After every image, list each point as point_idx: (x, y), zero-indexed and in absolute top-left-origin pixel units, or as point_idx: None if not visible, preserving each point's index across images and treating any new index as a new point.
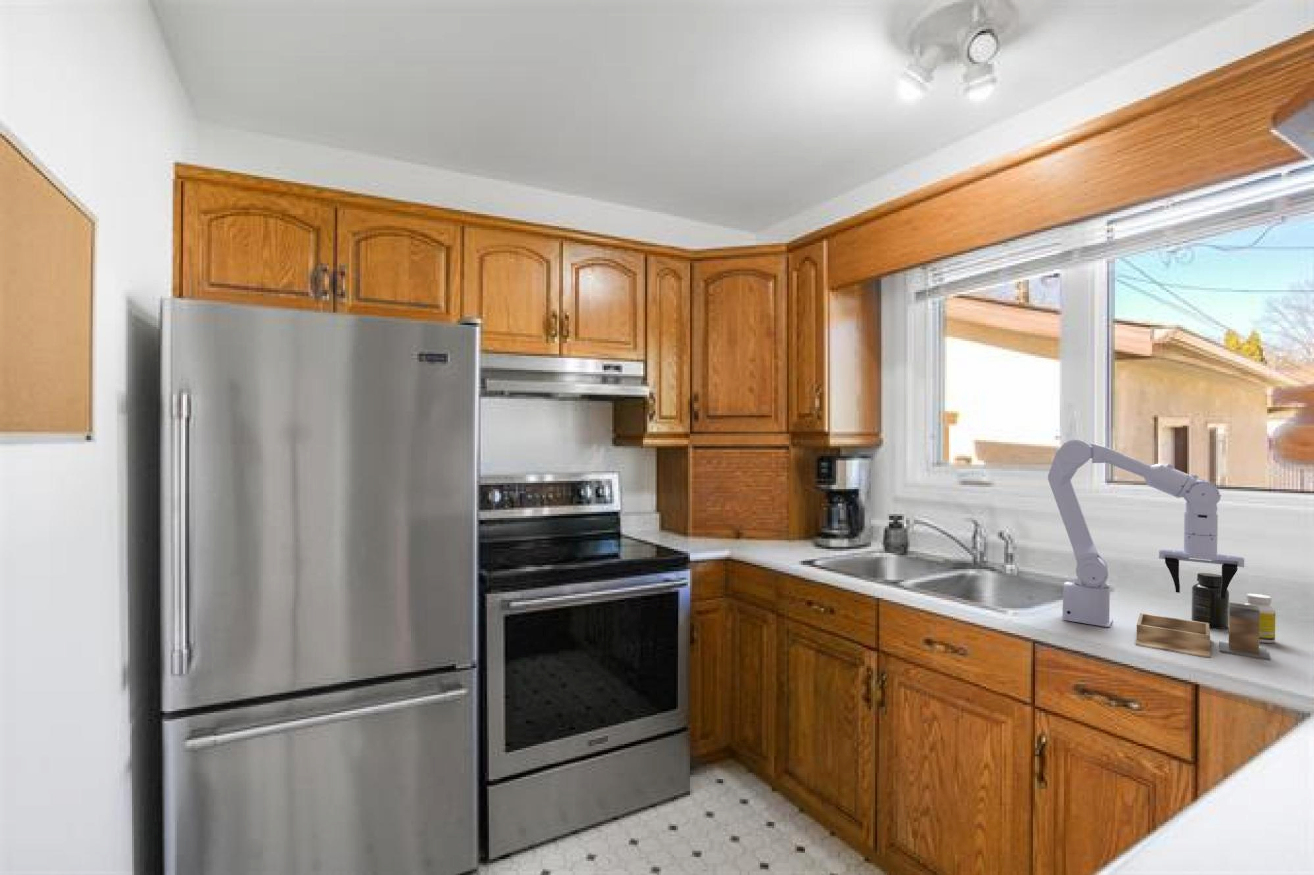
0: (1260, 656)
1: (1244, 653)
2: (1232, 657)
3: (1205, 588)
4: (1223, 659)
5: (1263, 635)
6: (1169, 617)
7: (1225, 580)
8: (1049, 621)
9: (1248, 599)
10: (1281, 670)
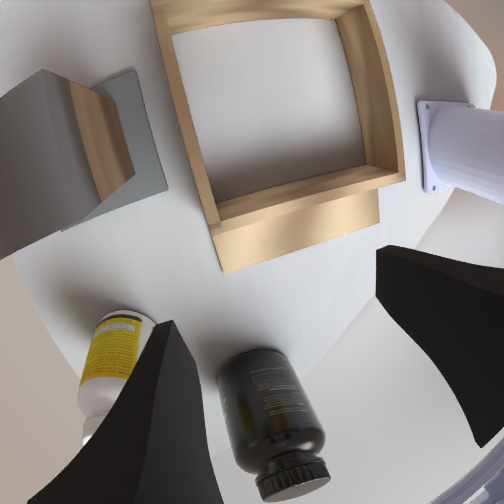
0: None
1: None
2: (100, 45)
3: (292, 441)
4: (117, 3)
5: (101, 326)
6: (335, 198)
7: (128, 426)
8: (475, 79)
9: None
10: (7, 54)
